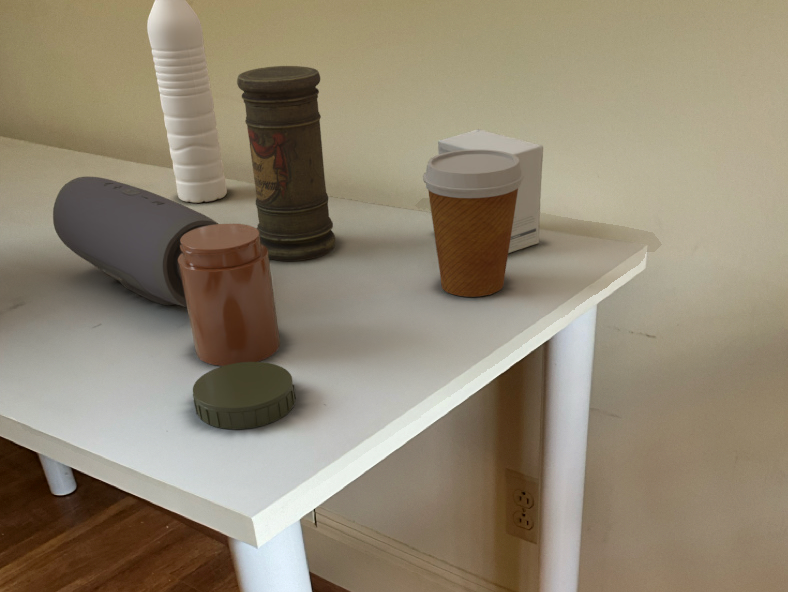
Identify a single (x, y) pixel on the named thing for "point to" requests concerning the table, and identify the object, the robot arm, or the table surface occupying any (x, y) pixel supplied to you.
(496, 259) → the disposable coffee cup
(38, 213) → the table surface
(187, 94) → the water bottle
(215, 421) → the lid
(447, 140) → the cosmetics box
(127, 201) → the bluetooth speaker
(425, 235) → the table surface
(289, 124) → the container
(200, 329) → the jar
